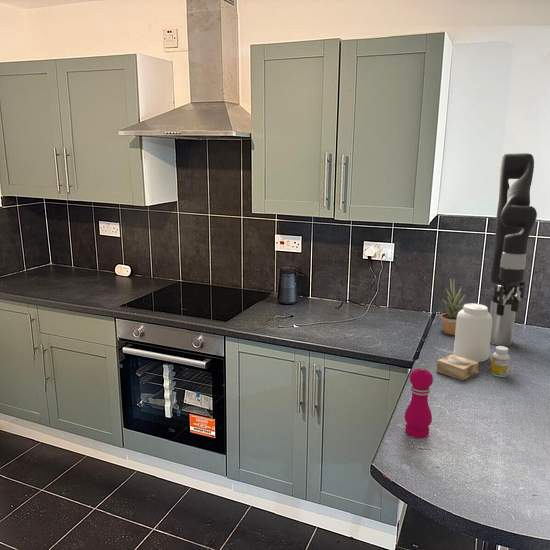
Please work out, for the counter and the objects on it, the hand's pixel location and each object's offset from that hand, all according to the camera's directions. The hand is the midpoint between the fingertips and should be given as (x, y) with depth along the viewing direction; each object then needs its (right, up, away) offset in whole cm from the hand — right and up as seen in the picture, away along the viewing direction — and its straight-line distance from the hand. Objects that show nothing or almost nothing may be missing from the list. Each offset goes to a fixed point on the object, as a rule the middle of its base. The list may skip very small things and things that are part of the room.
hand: (507, 313), depth 175 cm
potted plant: (-3, -12, +47) cm, 49 cm away
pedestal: (-14, -21, +7) cm, 26 cm away
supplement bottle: (0, -22, +5) cm, 23 cm away
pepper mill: (-39, -30, -33) cm, 60 cm away
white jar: (-4, -18, +21) cm, 28 cm away
